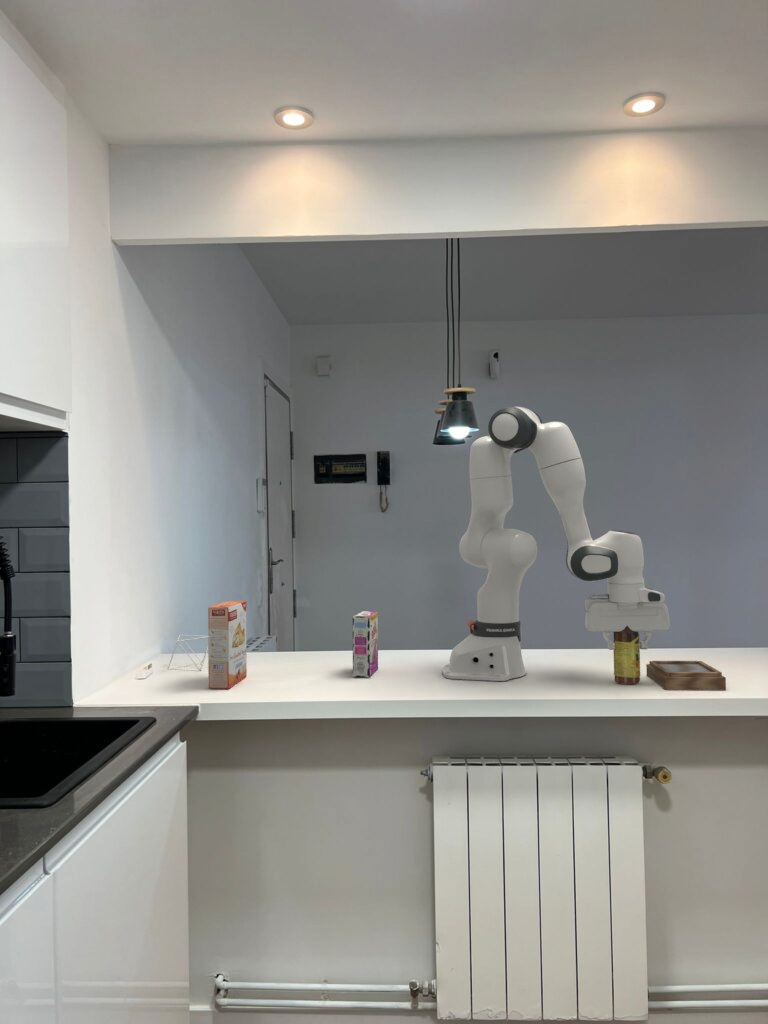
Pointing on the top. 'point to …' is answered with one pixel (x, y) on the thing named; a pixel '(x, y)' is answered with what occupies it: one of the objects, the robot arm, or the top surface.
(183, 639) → the geometric polyhedron
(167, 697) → the top surface
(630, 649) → the sauce bottle
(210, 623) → the cracker box
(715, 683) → the tray
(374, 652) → the candy bar box
